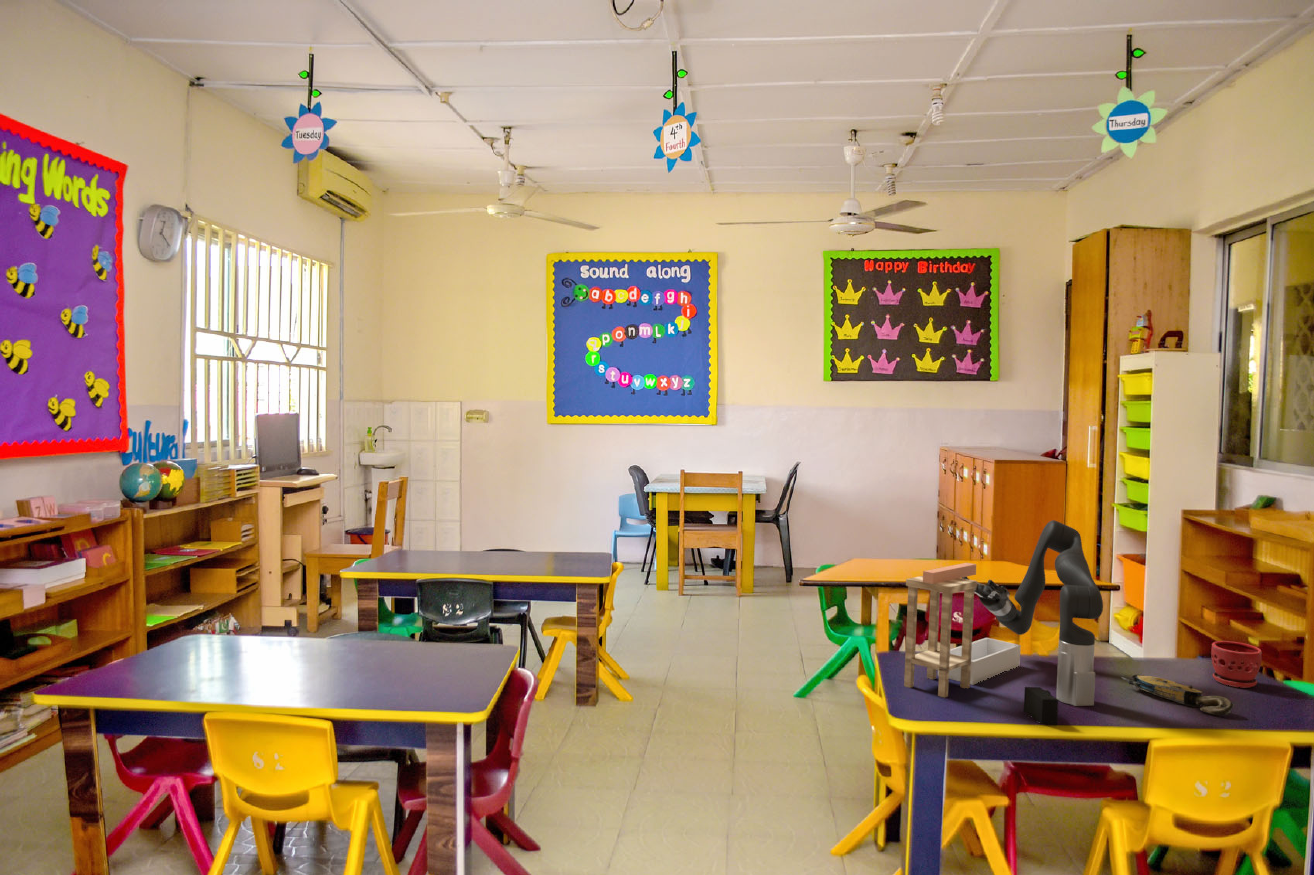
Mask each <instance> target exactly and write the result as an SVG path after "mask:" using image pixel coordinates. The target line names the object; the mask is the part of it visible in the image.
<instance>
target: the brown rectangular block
mask: <svg viewBox="0 0 1314 875" xmlns="http://www.w3.org/2000/svg"><path fill="white" fill-rule="evenodd" d="M975 575H977V564H976V563H971V562H963V563H960V564H959V563H958V564H955V565H954V564H953V565H949V566H947V565H946V566H943V567H938V568H933V569H928V570H924V571H922V576H923V582H925V583H930V584H935V583H939V582H944V581H949V580H953V579H958V578H962V577H967V578H968V577H971V576H975Z"/></svg>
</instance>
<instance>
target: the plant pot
mask: <svg viewBox="0 0 1314 875" xmlns="http://www.w3.org/2000/svg"><path fill="white" fill-rule="evenodd" d="M1210 654H1211V655H1210V656H1211V663H1212V667H1213V669H1214V671H1215V672H1213V673H1212V677H1213V679H1214V680H1216V682H1218V683H1220V684H1222V685H1225V686H1228V685H1229V687H1234V688H1239V687H1240V689H1241V688H1242V689H1243V688H1244V689H1245V688H1246V689H1247V688H1253V687H1255V686H1256V685H1257V684H1258V681H1257V679H1256V677H1257V675H1258V674H1259V671H1260V668H1261V666H1262V665H1261V664H1262V654H1263V653H1262V650H1261V648H1259V647H1257V646H1254V645H1251V644H1249V643H1248V644H1247V643H1244V642H1239V641H1229V640H1218V641H1217V640H1216V641H1214V642H1212V643H1211V652H1210Z"/></svg>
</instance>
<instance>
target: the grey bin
mask: <svg viewBox="0 0 1314 875" xmlns="http://www.w3.org/2000/svg"><path fill="white" fill-rule="evenodd" d="M950 654H953V655H957V656H961V657H962V645H959V646H957V647H954V648H953V647H952V648H950ZM1020 662H1021V644H1017V643H1012V642H1007V641H1004V640H998V639H994V638H989V637H984V638H981V639H978V640H975V641H972V650H971V672H970V686H974V685H976V684H978V682H979V683H981V682H984V681H987V680H988V679H987V678H989V679H991V677H992V678H993V676H994V677H996V676H995V675H997V676H999V675H1001V674H1000V673H1002V672H1004V671H1007V672H1009V671H1011V670H1010V669H1012V670H1014V669H1017V668H1019V667H1020V666H1021V665H1020ZM1018 666H1019V667H1018ZM1016 667H1017V668H1016ZM1013 668H1014V669H1013ZM1004 673H1005V672H1004ZM998 674H999V675H998ZM1002 674H1003V673H1002ZM937 676H938V677H939V670H937V674H936V677H937ZM949 679H950V680H953V681H957V682H960V681H961V667H958V668H955V669H952V670H950V671H949ZM983 680H984V681H983ZM980 681H981V682H980Z"/></svg>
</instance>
